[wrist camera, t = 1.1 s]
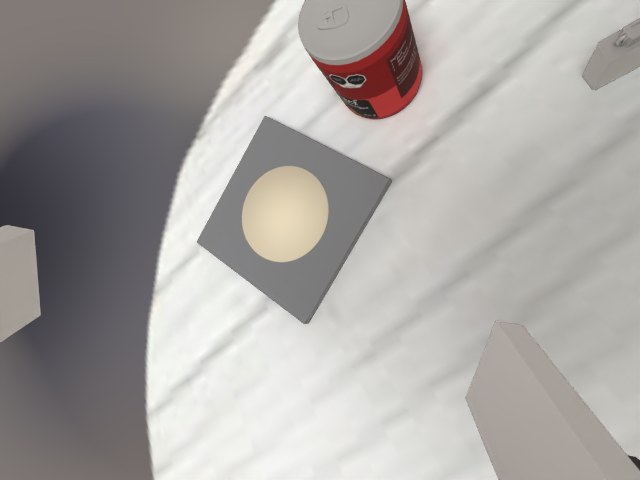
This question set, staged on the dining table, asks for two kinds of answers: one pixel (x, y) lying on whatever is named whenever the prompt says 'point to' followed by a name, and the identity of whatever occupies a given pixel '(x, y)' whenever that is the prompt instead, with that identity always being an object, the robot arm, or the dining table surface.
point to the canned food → (364, 52)
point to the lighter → (614, 56)
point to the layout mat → (292, 216)
